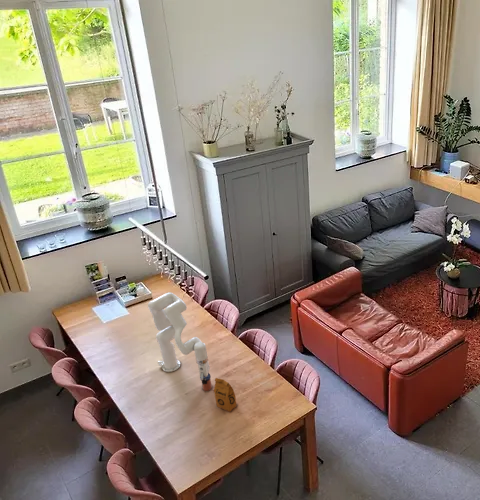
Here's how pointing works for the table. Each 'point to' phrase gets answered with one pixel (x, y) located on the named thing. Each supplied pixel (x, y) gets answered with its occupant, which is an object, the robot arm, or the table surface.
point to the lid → (207, 377)
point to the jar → (207, 385)
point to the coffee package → (224, 395)
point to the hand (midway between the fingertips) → (205, 379)
